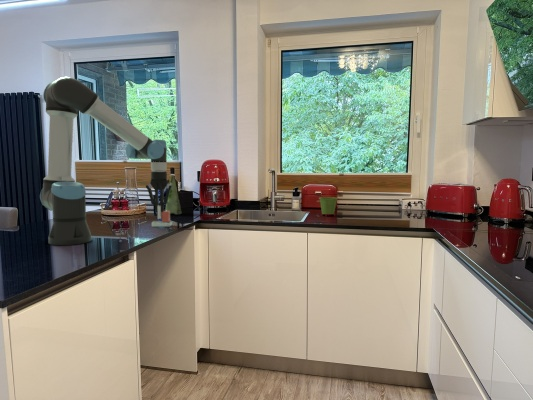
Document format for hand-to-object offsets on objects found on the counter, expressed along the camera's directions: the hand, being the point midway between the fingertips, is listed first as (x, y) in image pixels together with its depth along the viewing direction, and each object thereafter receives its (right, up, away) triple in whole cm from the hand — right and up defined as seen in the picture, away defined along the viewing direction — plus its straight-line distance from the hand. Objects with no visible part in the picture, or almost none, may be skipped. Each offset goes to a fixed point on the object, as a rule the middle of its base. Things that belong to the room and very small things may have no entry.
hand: (159, 218), depth 191 cm
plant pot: (+92, -1, +46) cm, 103 cm away
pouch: (-4, 0, +44) cm, 45 cm away
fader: (+3, -1, 0) cm, 4 cm away
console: (+1, -4, 0) cm, 4 cm away
